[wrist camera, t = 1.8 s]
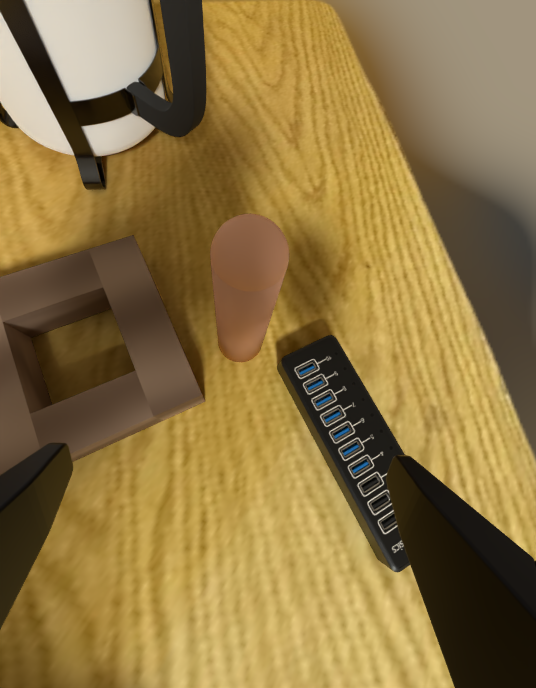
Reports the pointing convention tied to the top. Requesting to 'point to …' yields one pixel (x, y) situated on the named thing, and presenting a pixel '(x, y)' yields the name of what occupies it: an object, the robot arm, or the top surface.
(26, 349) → the brown square frame
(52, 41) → the coffee press
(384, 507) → the multiport hub
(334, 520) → the top surface
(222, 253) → the terracotta dowel
